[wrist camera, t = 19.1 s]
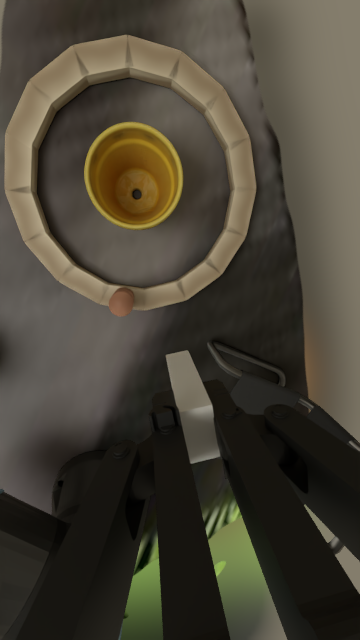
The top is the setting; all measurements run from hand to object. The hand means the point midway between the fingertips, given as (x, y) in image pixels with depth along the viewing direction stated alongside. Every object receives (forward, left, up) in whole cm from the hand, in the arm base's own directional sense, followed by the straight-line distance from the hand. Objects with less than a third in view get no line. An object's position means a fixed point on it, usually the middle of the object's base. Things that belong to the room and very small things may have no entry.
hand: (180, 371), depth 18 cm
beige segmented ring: (+16, 0, -25) cm, 29 cm away
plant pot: (+15, 0, -25) cm, 29 cm away
